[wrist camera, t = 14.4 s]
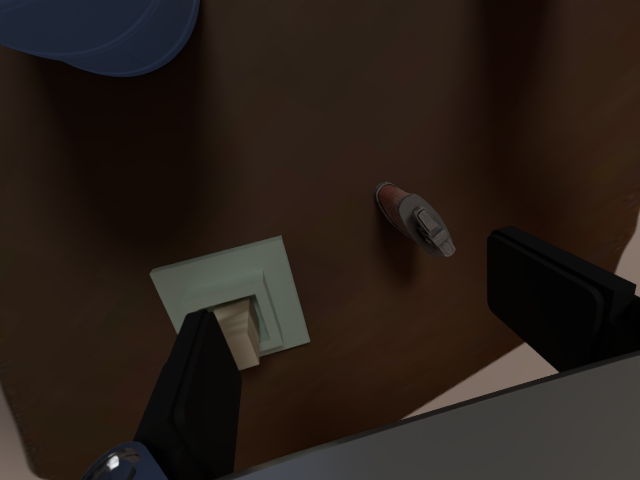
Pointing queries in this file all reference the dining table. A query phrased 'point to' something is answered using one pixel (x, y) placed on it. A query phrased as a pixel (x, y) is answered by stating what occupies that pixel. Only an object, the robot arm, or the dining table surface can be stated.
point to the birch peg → (240, 330)
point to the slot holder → (238, 290)
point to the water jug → (100, 32)
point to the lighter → (414, 219)
